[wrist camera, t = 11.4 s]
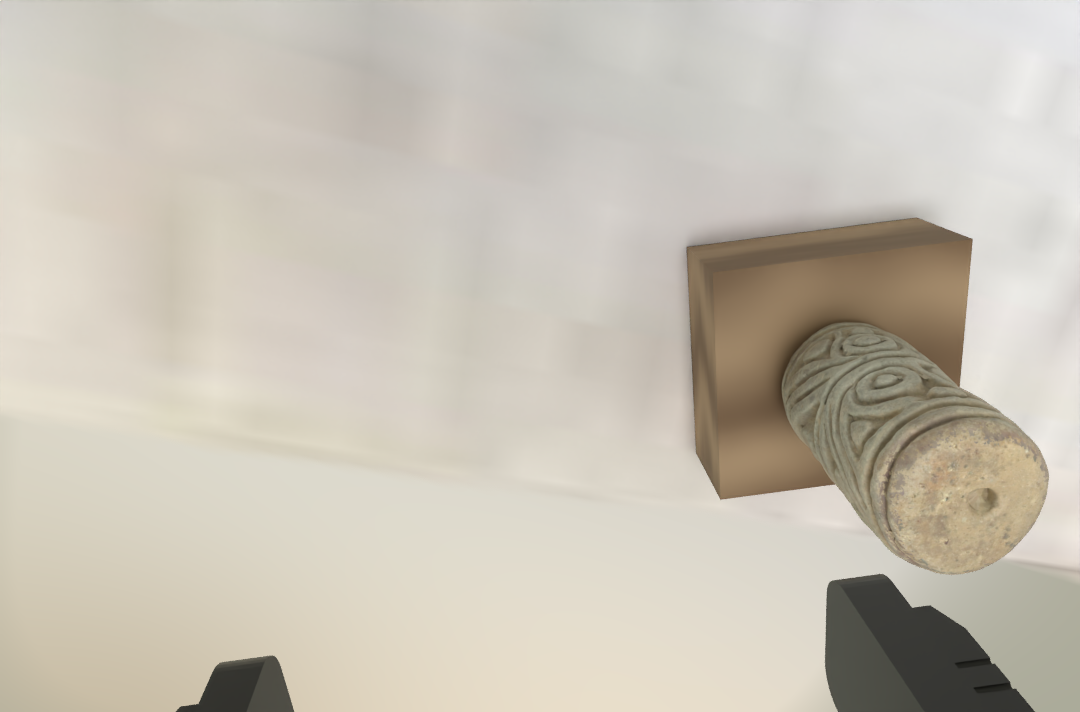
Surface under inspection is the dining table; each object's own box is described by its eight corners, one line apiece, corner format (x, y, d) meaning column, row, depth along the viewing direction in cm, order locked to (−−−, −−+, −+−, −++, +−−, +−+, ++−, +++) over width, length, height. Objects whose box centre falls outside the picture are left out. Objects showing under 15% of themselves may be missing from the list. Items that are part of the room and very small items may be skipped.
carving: (851, 277, 36) (1015, 377, 25) (925, 393, 39) (1104, 533, 27) (736, 357, 37) (843, 488, 26) (815, 466, 40) (943, 628, 28)
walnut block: (686, 247, 40) (712, 272, 36) (916, 217, 40) (972, 239, 36) (696, 452, 45) (720, 499, 40) (903, 425, 45) (952, 468, 40)
